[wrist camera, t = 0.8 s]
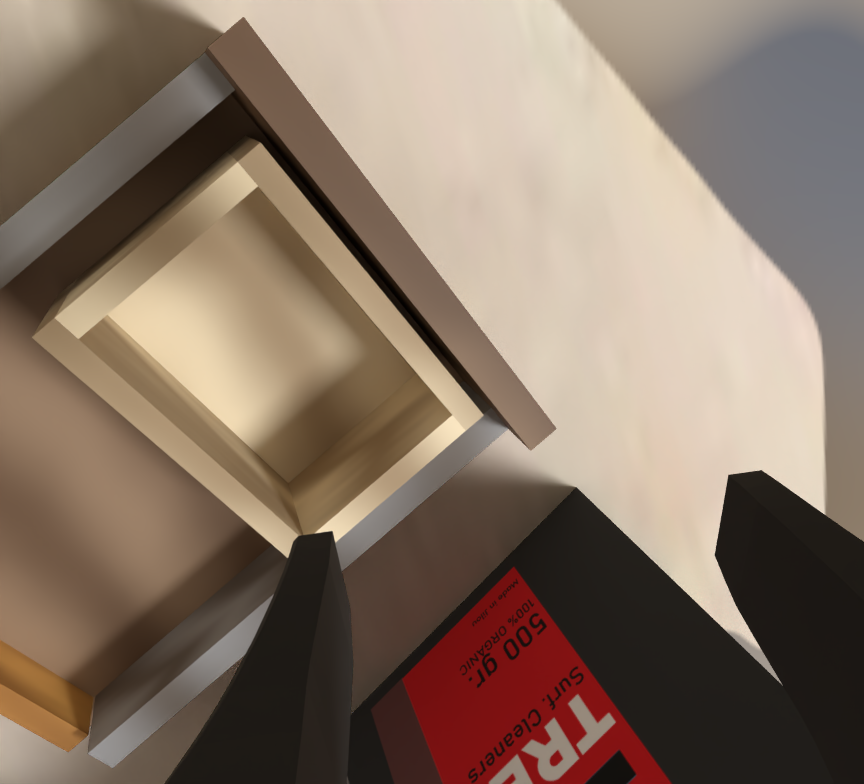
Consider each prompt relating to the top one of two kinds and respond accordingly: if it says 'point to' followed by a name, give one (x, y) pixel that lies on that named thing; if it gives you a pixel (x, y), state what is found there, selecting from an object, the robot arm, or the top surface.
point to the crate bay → (140, 457)
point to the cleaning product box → (580, 681)
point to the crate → (259, 354)
